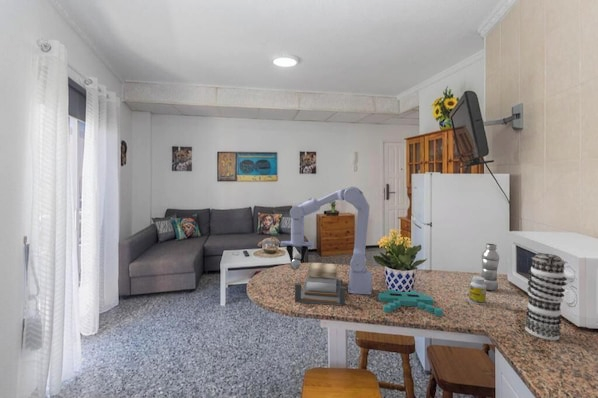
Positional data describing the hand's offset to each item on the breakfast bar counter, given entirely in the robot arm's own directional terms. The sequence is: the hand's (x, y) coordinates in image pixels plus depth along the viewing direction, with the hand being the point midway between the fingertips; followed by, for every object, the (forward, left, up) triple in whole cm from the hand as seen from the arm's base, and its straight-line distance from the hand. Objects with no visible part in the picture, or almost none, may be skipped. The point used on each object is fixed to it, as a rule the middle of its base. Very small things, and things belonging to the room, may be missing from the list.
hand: (296, 262), depth 130 cm
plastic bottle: (-84, -8, -10) cm, 85 cm away
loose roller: (0, 0, -2) cm, 2 cm away
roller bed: (-12, +6, -9) cm, 16 cm away
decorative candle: (-83, +28, -10) cm, 88 cm away
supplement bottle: (-73, +7, -10) cm, 74 cm away
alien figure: (-45, +12, -10) cm, 47 cm away
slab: (-12, -1, -4) cm, 13 cm away
